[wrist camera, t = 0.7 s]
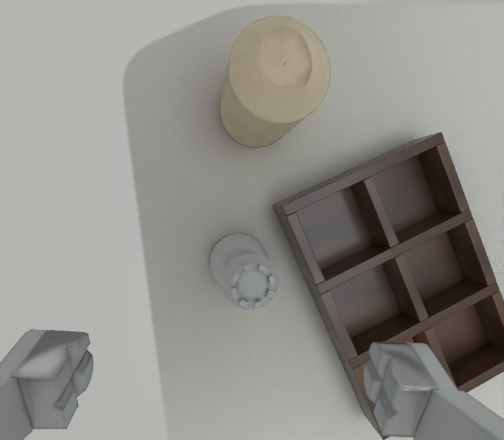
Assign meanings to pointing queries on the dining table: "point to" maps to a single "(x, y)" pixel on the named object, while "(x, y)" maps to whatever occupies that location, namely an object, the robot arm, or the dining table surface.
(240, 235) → the rook chess piece
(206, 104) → the dining table surface
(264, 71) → the candle
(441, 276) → the grid
